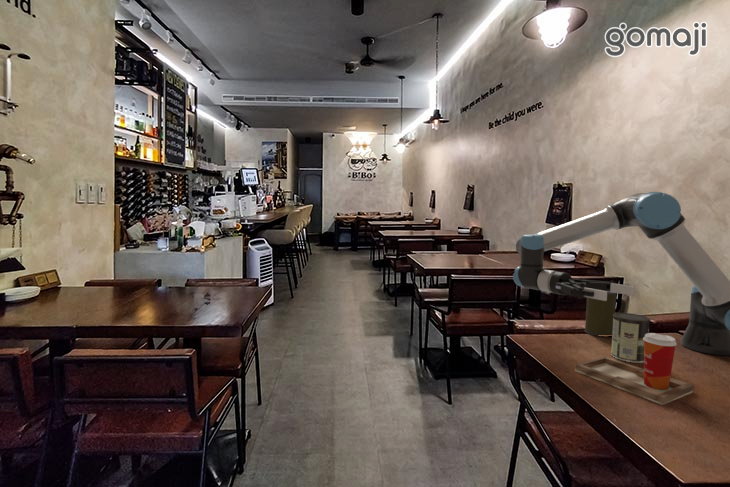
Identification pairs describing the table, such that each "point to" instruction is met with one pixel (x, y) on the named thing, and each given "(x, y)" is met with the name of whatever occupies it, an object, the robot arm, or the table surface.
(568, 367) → the table surface
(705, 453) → the table surface
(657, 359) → the paper cup
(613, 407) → the table surface
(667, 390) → the seat pad
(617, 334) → the coffee can
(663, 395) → the keyhole slot
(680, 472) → the table surface
